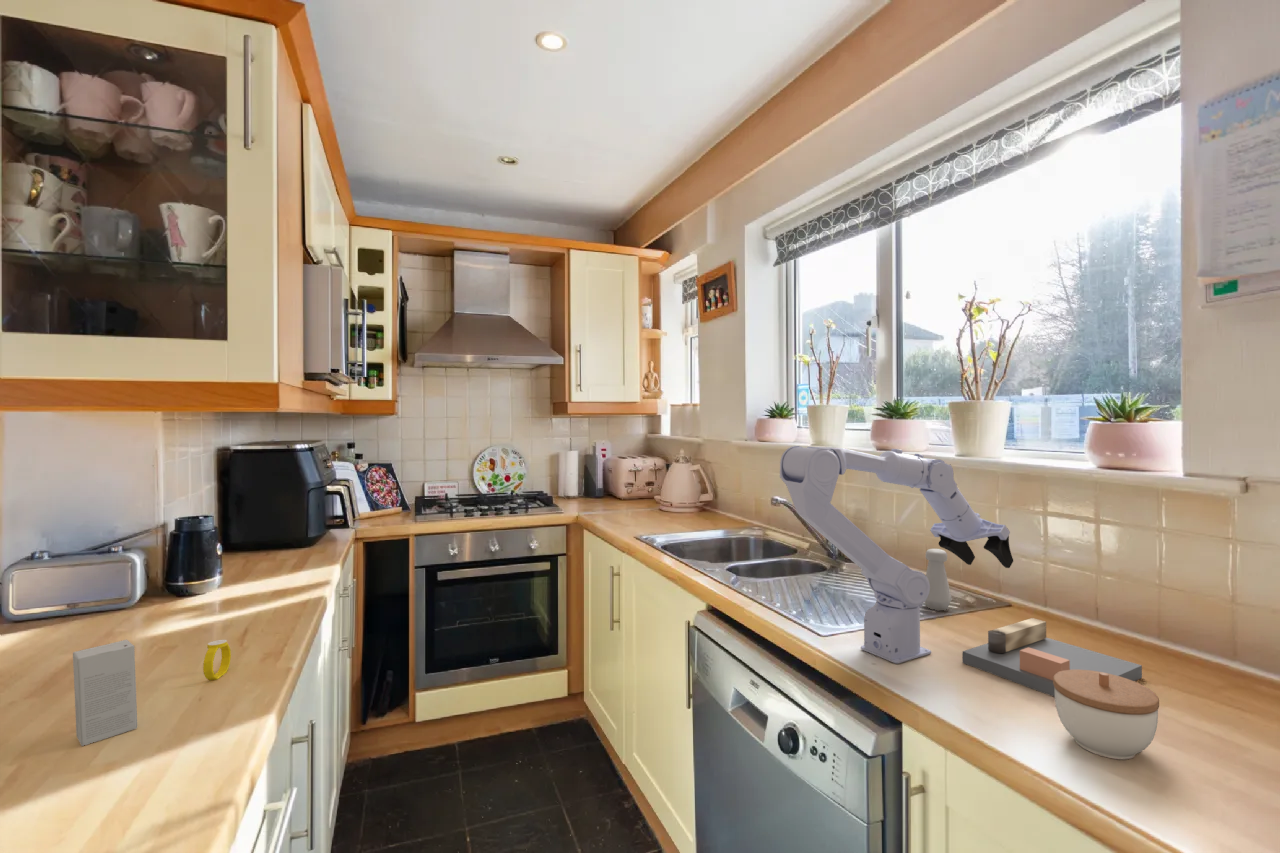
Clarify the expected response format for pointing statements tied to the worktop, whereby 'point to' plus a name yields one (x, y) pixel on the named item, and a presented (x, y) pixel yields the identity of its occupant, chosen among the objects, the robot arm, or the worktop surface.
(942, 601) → the salt shaker
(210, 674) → the watch
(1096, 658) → the stool seat
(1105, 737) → the lidded jar
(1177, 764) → the worktop surface
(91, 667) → the skincare box
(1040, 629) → the stool leg
